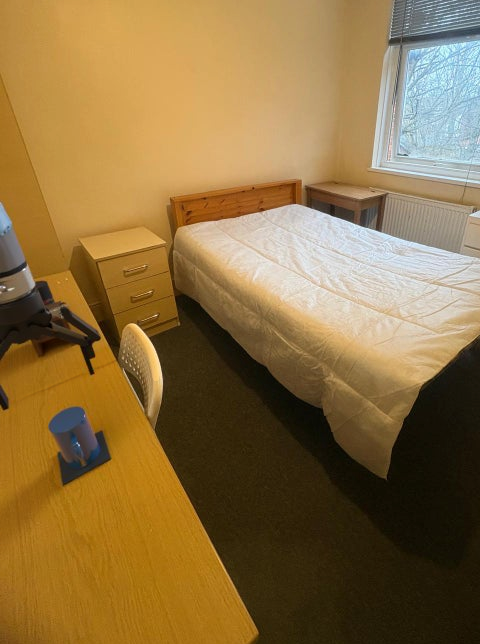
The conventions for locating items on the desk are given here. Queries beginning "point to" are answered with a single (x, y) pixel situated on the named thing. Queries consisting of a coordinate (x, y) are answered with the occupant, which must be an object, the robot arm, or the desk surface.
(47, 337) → the shelf
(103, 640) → the desk surface
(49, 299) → the deodorant
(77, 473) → the mat
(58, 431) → the blue oval cylinder
